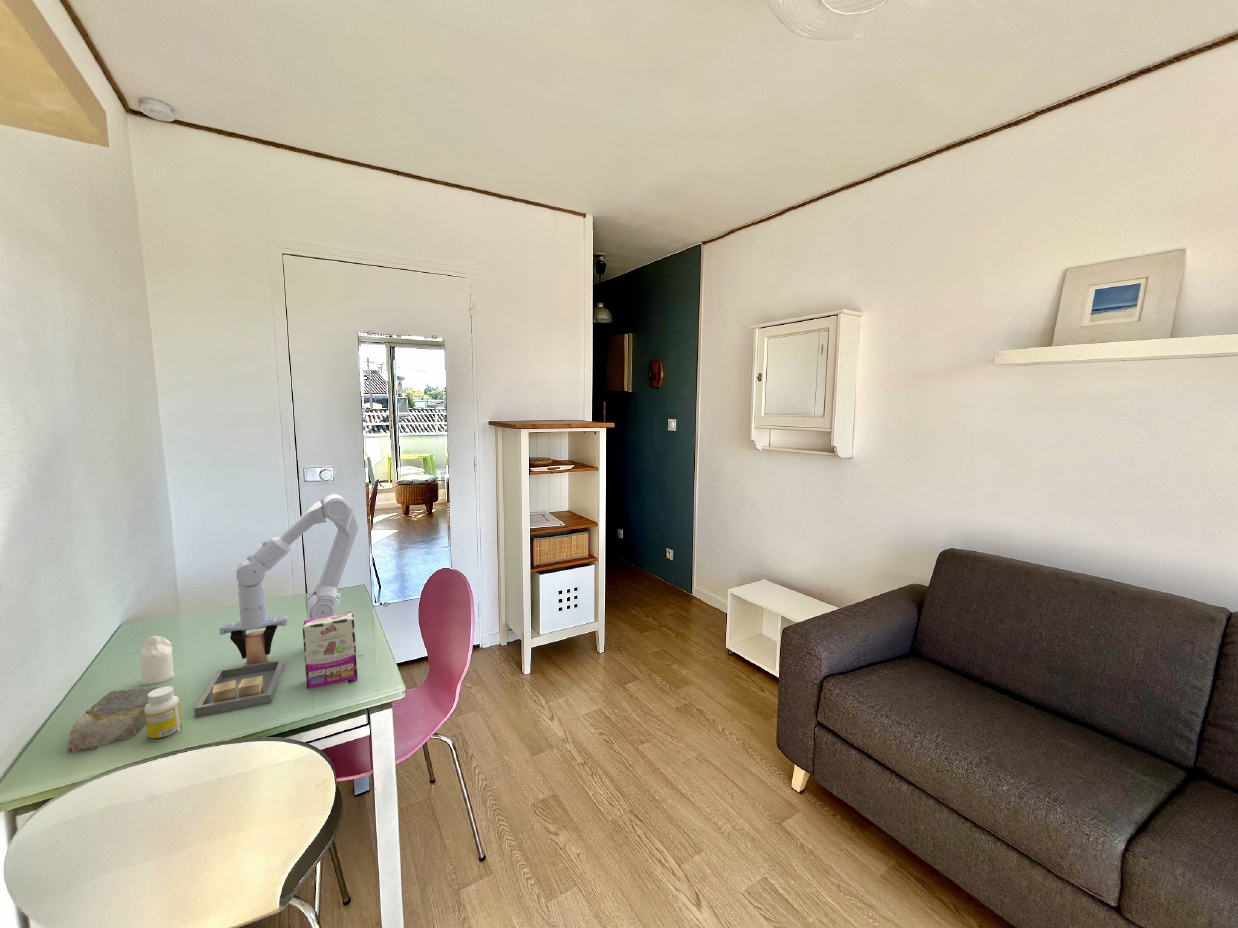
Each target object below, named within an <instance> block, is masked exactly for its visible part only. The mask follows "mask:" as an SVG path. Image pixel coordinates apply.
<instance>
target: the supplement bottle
mask: <svg viewBox="0 0 1238 928" xmlns="http://www.w3.org/2000/svg"><path fill="white" fill-rule="evenodd" d="M160 687H161V688H158V689H155V690H153V691H151V692H150V693H149V694H148V702H149V703H148V704H147V705H146V707H145V719H146V725H145V726H146V733H147V739H148V741H153V742H157V741H162V740H166V739H168V738H171V737H173V736H176V735H177V734H178V733H180V731H181V730H182V729H183V722H182V714H181V705H180V699H179V697H178V696H177V695H174V694H175V691H174V687H173V686H172V685H171V686H170V685H169V686H168V685H167V686H160Z"/></svg>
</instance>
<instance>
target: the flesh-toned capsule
mask: <svg viewBox="0 0 1238 928" xmlns="http://www.w3.org/2000/svg"><path fill="white" fill-rule="evenodd" d="M264 631H265V630H255V631H251V632H248V633H246V635H245V636H244V639H245V652H246V658H245V661H246V664H245V665H250V664H256V663H262V662H268V661H269V660H268V655H266V643H265V637H264Z"/></svg>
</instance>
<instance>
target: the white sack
mask: <svg viewBox="0 0 1238 928" xmlns="http://www.w3.org/2000/svg"><path fill="white" fill-rule="evenodd" d="M139 662H140V671H141V679H142V685H143V686H147V685H153V684H158V683H162V682H164V681H168V680H169V681H170V680H172V679H173V677H175V675H174V663H173V646H172V642H171V641H170V640H168V639H167V638H165V637H163V636H161V635H152V636H151V637H149V638H147V639H146V641H145V644H144V645H143V646H142V648H140V651H139Z"/></svg>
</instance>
